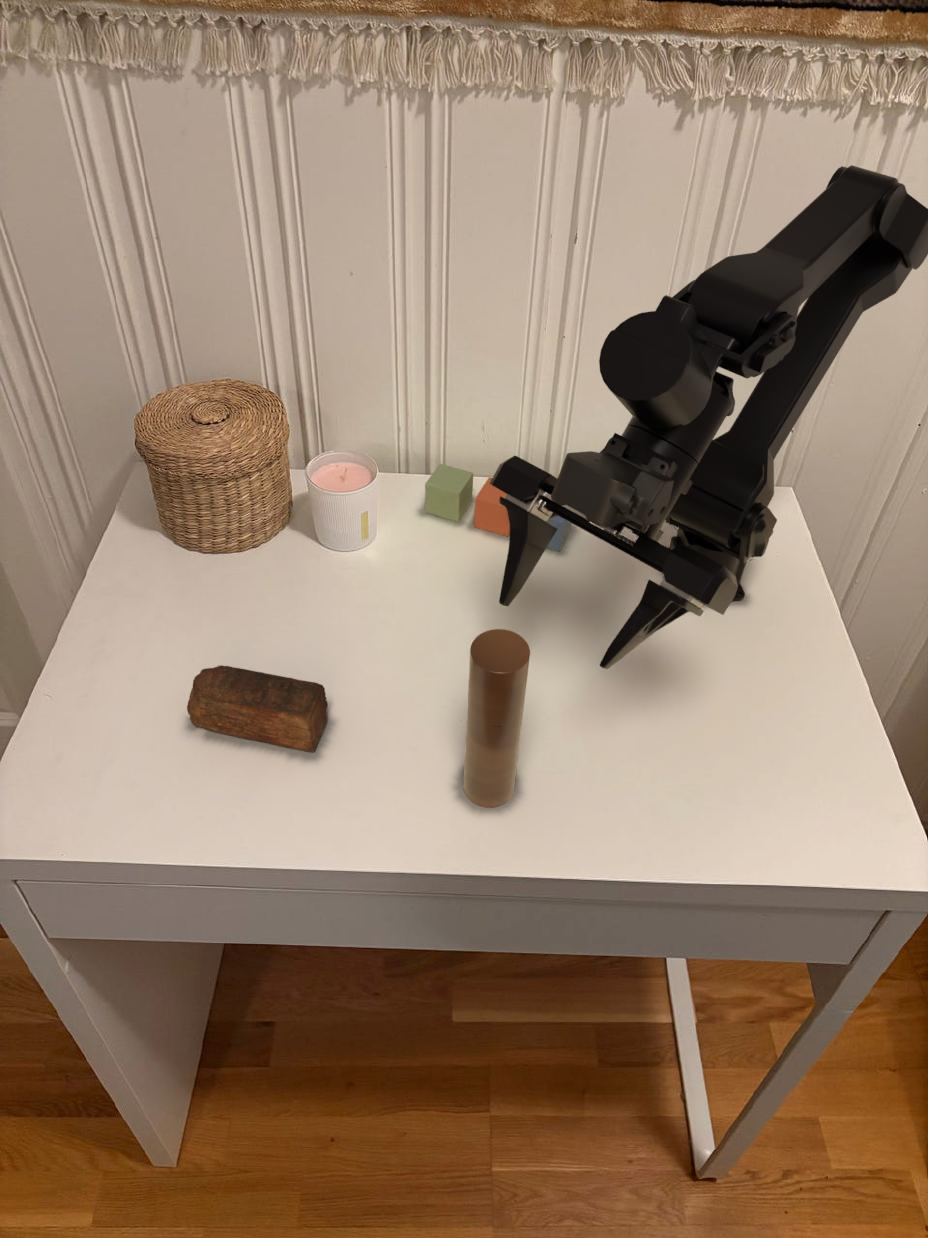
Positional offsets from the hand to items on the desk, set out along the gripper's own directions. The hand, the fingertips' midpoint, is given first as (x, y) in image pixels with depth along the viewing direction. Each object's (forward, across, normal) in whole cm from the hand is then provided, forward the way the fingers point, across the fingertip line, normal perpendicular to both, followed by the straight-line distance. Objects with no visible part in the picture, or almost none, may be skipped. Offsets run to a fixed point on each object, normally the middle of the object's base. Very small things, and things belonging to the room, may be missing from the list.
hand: (551, 635), depth 68 cm
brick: (+19, -18, -1) cm, 26 cm away
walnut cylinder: (+13, 0, +5) cm, 14 cm away
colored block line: (-5, -20, +23) cm, 31 cm away
